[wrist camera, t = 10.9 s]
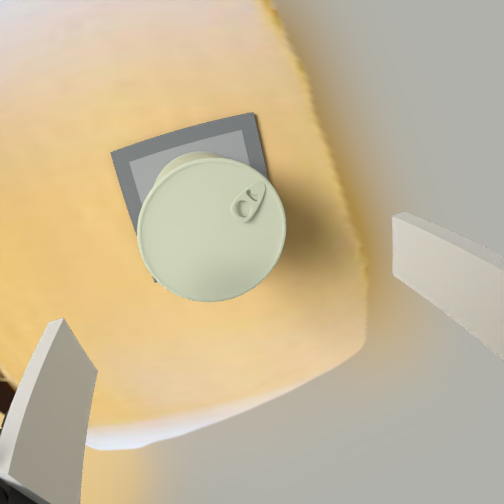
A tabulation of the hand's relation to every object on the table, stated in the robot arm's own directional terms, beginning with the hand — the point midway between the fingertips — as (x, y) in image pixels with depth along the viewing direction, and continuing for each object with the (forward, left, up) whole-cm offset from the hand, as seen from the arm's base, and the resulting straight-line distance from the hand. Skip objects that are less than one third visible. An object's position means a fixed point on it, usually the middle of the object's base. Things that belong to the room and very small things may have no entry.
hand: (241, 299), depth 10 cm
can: (0, 0, -20) cm, 20 cm away
